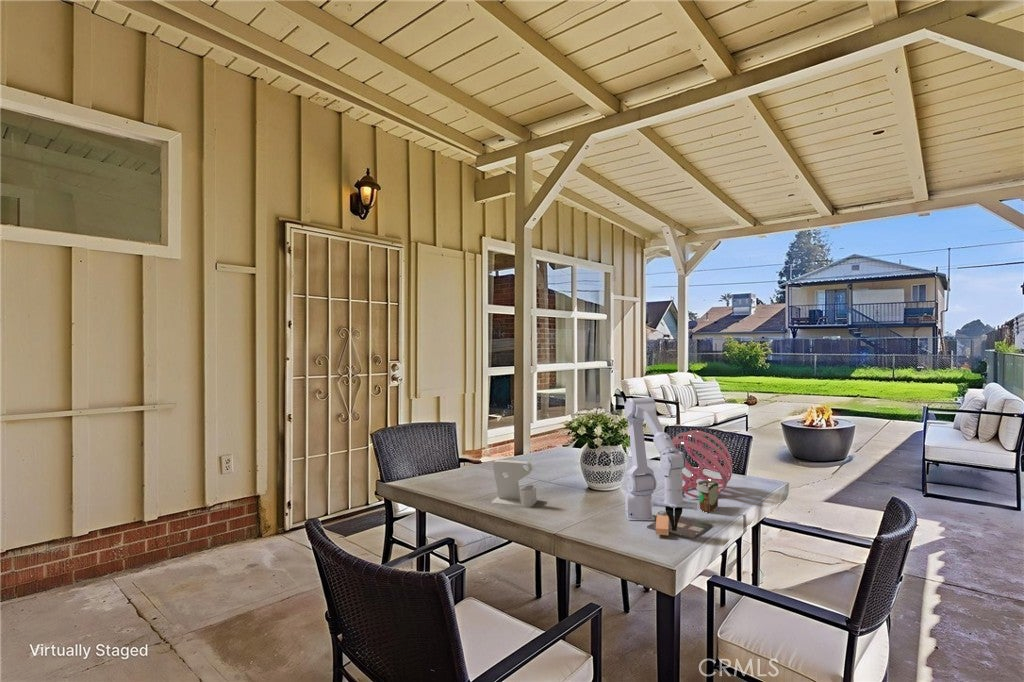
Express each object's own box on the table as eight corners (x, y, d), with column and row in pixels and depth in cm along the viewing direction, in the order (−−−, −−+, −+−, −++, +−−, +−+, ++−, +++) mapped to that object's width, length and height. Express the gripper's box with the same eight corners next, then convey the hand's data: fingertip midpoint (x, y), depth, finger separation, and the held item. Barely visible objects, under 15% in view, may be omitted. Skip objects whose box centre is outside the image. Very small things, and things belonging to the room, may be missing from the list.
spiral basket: (679, 458, 197) (716, 413, 209) (637, 461, 222) (673, 421, 234) (723, 514, 198) (758, 467, 209) (677, 511, 223) (710, 469, 235)
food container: (703, 503, 203) (702, 478, 204) (719, 506, 200) (718, 480, 200) (691, 511, 194) (691, 485, 194) (708, 514, 190) (707, 487, 190)
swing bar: (657, 518, 184) (657, 509, 184) (668, 519, 183) (668, 510, 183) (655, 534, 168) (655, 525, 168) (668, 536, 167) (668, 526, 167)
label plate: (693, 539, 166) (693, 537, 166) (646, 527, 177) (646, 525, 177) (712, 526, 178) (712, 523, 178) (667, 516, 189) (667, 513, 189)
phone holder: (538, 500, 211) (538, 457, 211) (530, 508, 202) (530, 462, 202) (499, 497, 217) (499, 454, 218) (490, 504, 208) (489, 459, 208)
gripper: (650, 490, 168) (651, 531, 168) (696, 493, 164) (697, 536, 163) (651, 484, 175) (652, 524, 175) (696, 487, 170) (697, 528, 170)
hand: (674, 529), depth 170 cm, fingers closed
